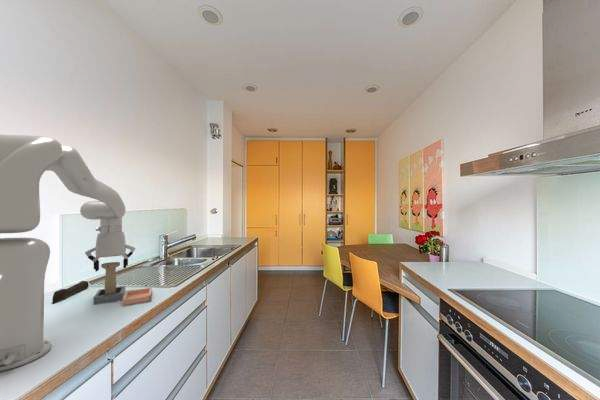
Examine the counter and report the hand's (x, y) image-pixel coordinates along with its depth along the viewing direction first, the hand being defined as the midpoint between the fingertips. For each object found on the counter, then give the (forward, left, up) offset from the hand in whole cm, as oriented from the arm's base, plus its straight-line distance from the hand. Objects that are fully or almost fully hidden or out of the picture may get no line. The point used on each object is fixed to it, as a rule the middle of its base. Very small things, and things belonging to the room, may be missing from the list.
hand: (111, 269), depth 107 cm
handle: (0, 0, -13) cm, 13 cm away
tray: (-7, -10, -13) cm, 18 cm away
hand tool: (+13, +16, -13) cm, 24 cm away
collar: (0, 0, -13) cm, 13 cm away
